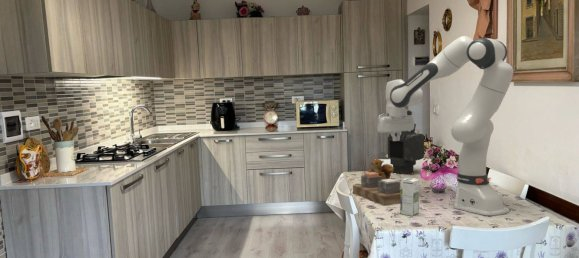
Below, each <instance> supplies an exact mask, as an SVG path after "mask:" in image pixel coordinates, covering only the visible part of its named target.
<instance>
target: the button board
mask: <svg viewBox="0 0 579 258" xmlns="http://www.w3.org/2000/svg"><path fill="white" fill-rule="evenodd" d="M360 179H361V180H360V184H353V185H352V194H354V195H357V196H359V197H362V198H363V199H366V200H368V201H369V200H370V201H372V202H373V203H374V202H375V203H377V204H379V205H382V206H389V205H398V204H400V196H401V181H398V180H396V181H397V182H394V183H385V182H382V181H381V180H382V177H381V176H379V177H372V178H369V177H366V176H364V174H363V175H361V176H360Z"/></svg>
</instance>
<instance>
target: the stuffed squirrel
mask: <svg viewBox="0 0 579 258" xmlns="http://www.w3.org/2000/svg"><path fill="white" fill-rule="evenodd" d="M369 167H370V168H371V167H372V169H369V170H367V172H375V173H378V174H379V176H381V177H382V180H385V179H391V174H393V165H392V164H389V163H386V164H385V161H384V160H381V159H380V158H374V160H373V161H372V162H371V163H370V165H369Z"/></svg>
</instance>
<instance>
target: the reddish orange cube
mask: <svg viewBox="0 0 579 258" xmlns="http://www.w3.org/2000/svg"><path fill="white" fill-rule="evenodd" d="M363 175H364V176H366V177H369V178H372V177H379V174H378V173H375V172H368V171H367V172H364V174H363Z"/></svg>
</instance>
